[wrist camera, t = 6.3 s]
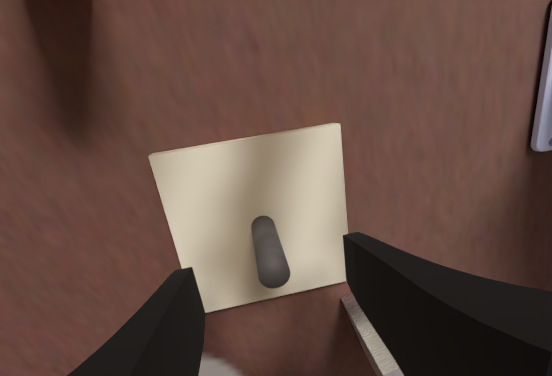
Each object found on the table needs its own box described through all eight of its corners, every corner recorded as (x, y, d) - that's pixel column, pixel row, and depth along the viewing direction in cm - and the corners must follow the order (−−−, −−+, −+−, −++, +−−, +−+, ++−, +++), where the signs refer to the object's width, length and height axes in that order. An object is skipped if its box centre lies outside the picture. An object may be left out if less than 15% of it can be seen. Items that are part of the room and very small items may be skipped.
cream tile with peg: (334, 122, 14) (386, 132, 9) (345, 272, 17) (390, 338, 12) (153, 153, 13) (107, 182, 8) (197, 304, 16) (182, 390, 11)
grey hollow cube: (412, 264, 17) (483, 328, 12) (428, 319, 19) (497, 395, 14) (340, 297, 17) (383, 375, 12) (363, 350, 19) (409, 437, 14)
